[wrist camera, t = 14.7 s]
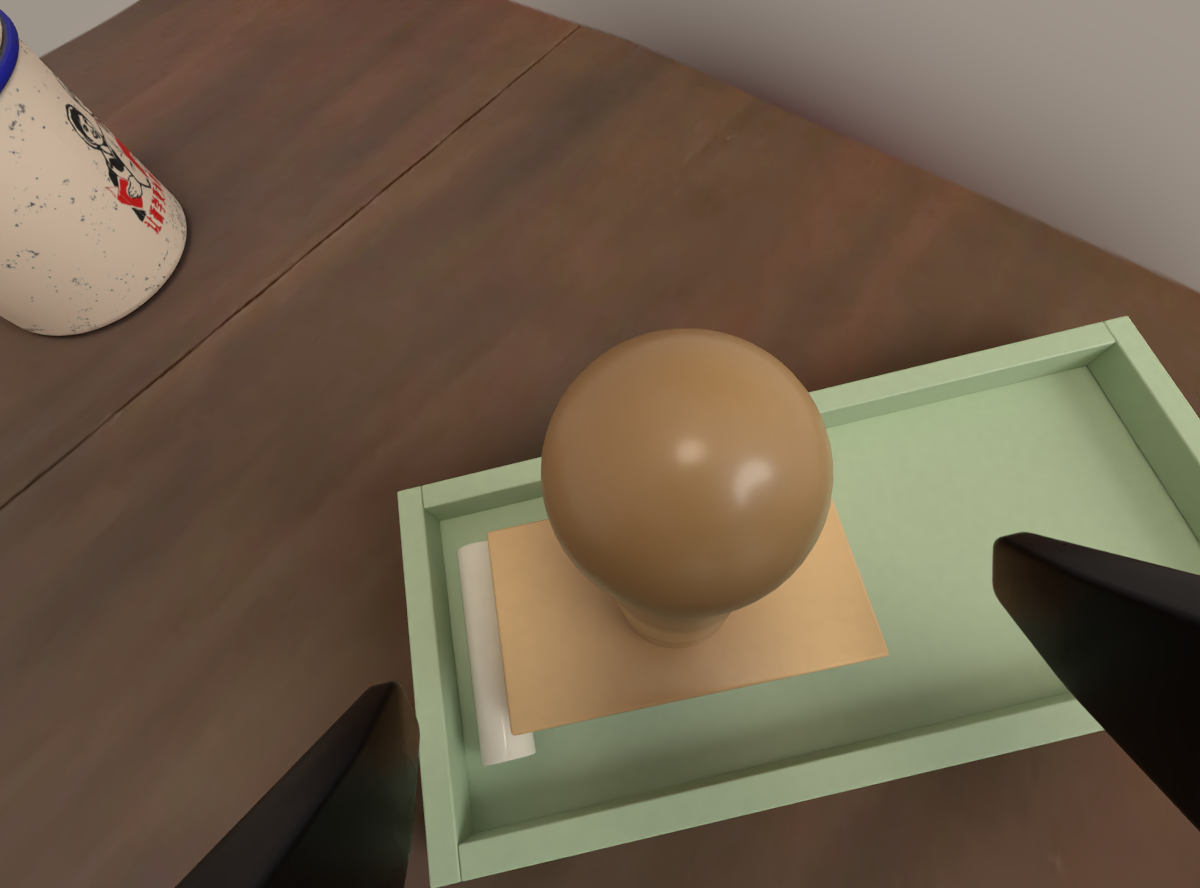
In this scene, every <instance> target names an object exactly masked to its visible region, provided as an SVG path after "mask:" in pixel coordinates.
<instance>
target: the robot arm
mask: <svg viewBox="0 0 1200 888" xmlns="http://www.w3.org/2000/svg"><path fill="white" fill-rule="evenodd" d="M992 586H993V590H994V593H995V595H996V597H997V599H998V601H999V602H1000V603H1001V605H1002V606H1003V607H1004V609H1005V610H1006V611H1007V613H1008V614H1009V615H1010V616H1011V618H1012V619H1013V620H1014V622H1015V623H1016V624H1017V626H1018V627H1019V628H1020V629H1021V631H1022V632H1023V633H1024V635H1025V636H1026V637H1027V638H1028V640H1029V641H1030V642H1031V644H1032V645H1033V646H1034V648H1035V649H1036V650H1037V651H1038V653H1039V654H1040V655H1041V657H1042V658H1043V659H1044V660H1045V662H1046V663H1047V664H1048V666H1049V667H1050V668H1051V670H1052V671H1053V672H1054V673H1055V675H1056V676H1057V677H1058V678H1059V680H1060V681H1061V682H1062V683H1063V684H1064V686H1065V687H1066V688H1067V689H1068V690H1069V692H1070V693H1071V694H1072V695H1073V696H1074V697H1075V698H1076V699H1077V701H1078V702H1079V703H1080V704H1081V705H1082V706H1083V707H1084V708H1085V709H1086V710H1087V711H1088V713H1089V714H1090V715H1091V716H1092V717H1093V718H1094V719H1095V720H1096V721H1097V722H1098V723H1099V724H1100V725H1101V726H1102V728H1103V729H1104V730H1105V731H1106V732H1107V733H1108V734H1109V735H1110V736H1111V737H1112V738H1113V739H1114V740H1115V741H1116V742H1117V744H1118V745H1119V746H1120V747H1121V748H1122V749H1123V750H1124V751H1125V752H1126V753H1127V754H1128V755H1129V756H1130V757H1131V759H1132V760H1133V761H1134V762H1135V763H1136V764H1137V765H1138V766H1139V767H1140V768H1141V769H1142V770H1143V771H1144V772H1145V774H1146V775H1147V776H1148V777H1149V778H1150V779H1151V780H1152V781H1153V782H1154V783H1155V784H1156V785H1157V786H1158V787H1159V789H1160V790H1161V791H1162V792H1163V793H1164V794H1165V795H1166V796H1167V797H1168V798H1169V799H1170V800H1171V801H1172V802H1173V804H1174V805H1175V806H1176V807H1177V808H1178V809H1179V810H1180V811H1181V812H1182V813H1183V814H1184V815H1185V816H1186V817H1187V819H1188V820H1189V821H1190V822H1191V823H1192V824H1193V825H1194V826H1195V827H1196V828H1197V829H1198V830H1199V831H1200V575H1197V574H1193V573H1189V572H1185V571H1181V570H1177V569H1173V568H1169V567H1165V566H1162V565H1158V564H1154V563H1150V562H1146V561H1142V560H1138V559H1134V558H1130V557H1126V556H1122V555H1118V554H1114V553H1110V552H1106V551H1102V550H1098V549H1094V548H1090V547H1086V546H1082V545H1078V544H1074V543H1070V542H1066V541H1062V540H1058V539H1054V538H1050V537H1046V536H1042V535H1038V534H1034V533H1030V532H1018V533H1014V534H1010V535H1006V536H1001V537H999V538H997V539H996V540H995V541H994V544H993V556H992ZM419 745H420V729H419V724H418V720H417V718H416V716H415V713H414V711H413V709H412V707H411V704H410V702H409V700H408V698H407V695H406V693H405V691H404V689H403V687H402V685H401V684H400V683H399V682H396V681H391V682H387V683H383V684H379V685H374V686H372V687H370V688H368V689H367V690H366V691H365V692H364V693H363V694H362V695H361V696H360V697H359V698H358V699H357V700H356V701H355V702H354V703H353V705H352V706H351V707H350V708H349V709H348V710H347V711H346V712H345V713H344V714H343V715H342V716H341V717H340V718H339V719H338V720H337V721H336V722H335V723H334V724H333V725H332V726H331V727H330V728H329V729H328V730H327V731H326V732H325V733H324V734H323V735H322V736H321V738H320V739H319V740H318V741H317V742H316V743H315V744H314V745H313V746H312V747H311V748H310V749H309V750H308V751H307V752H306V753H305V754H304V755H303V756H302V757H301V758H300V759H299V760H298V761H297V762H296V763H295V764H294V765H293V766H292V767H291V768H290V769H289V770H288V772H287V773H286V774H285V775H284V776H283V777H282V778H281V779H280V780H279V781H278V782H277V783H276V784H275V785H274V786H273V787H272V788H271V789H270V790H269V791H268V792H267V793H266V794H265V795H264V796H263V797H262V798H261V799H260V800H259V801H258V802H257V803H256V804H255V805H254V807H253V808H252V809H251V810H250V811H249V812H248V813H247V814H246V815H245V816H244V817H243V818H242V819H241V820H240V821H239V822H238V823H237V824H236V825H235V826H234V827H233V828H232V829H231V830H230V831H229V832H228V833H227V834H226V835H225V836H224V837H223V838H222V839H221V840H220V842H219V843H218V844H217V845H216V846H215V847H214V848H213V849H212V850H211V851H210V852H209V853H208V854H207V855H206V856H205V857H204V858H203V859H202V860H201V861H200V862H199V863H198V864H197V865H196V866H195V867H194V868H193V869H192V870H191V871H190V872H189V873H188V874H187V875H186V877H185V878H184V879H183V880H182V881H181V882H180V883H179V884H178V885H177V886H176V887H175V888H404V884H405V878H406V873H407V867H408V862H409V855H410V849H411V842H412V833H413V822H414V809H415V797H416V784H417V771H418V758H419Z"/></svg>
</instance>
